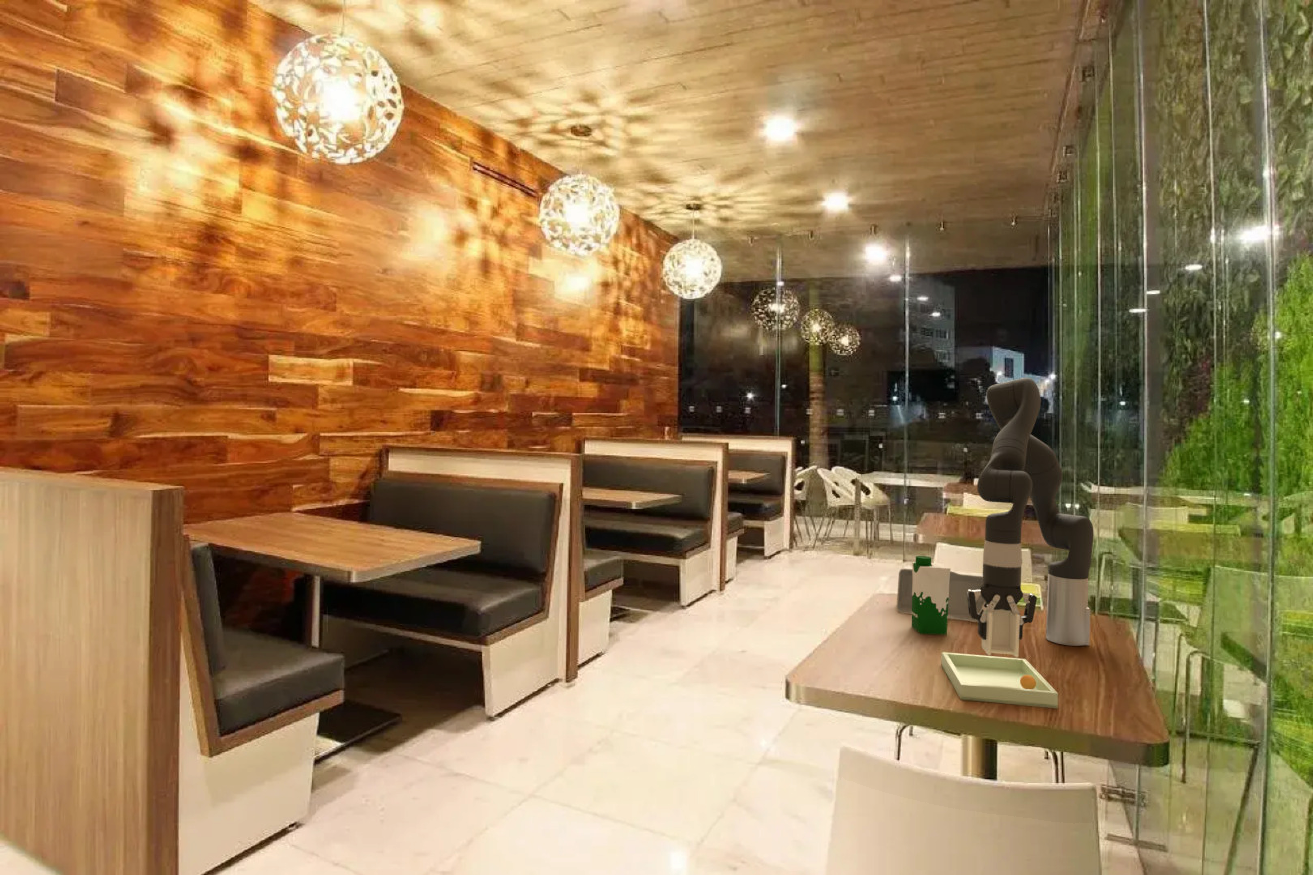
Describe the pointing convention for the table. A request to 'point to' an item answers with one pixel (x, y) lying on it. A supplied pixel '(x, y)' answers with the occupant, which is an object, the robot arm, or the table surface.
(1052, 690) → the tray
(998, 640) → the mini side table
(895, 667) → the table surface
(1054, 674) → the table surface
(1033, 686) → the mixing ball
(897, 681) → the table surface
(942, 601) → the milk carton
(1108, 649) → the table surface
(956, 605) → the grey rectangular box
